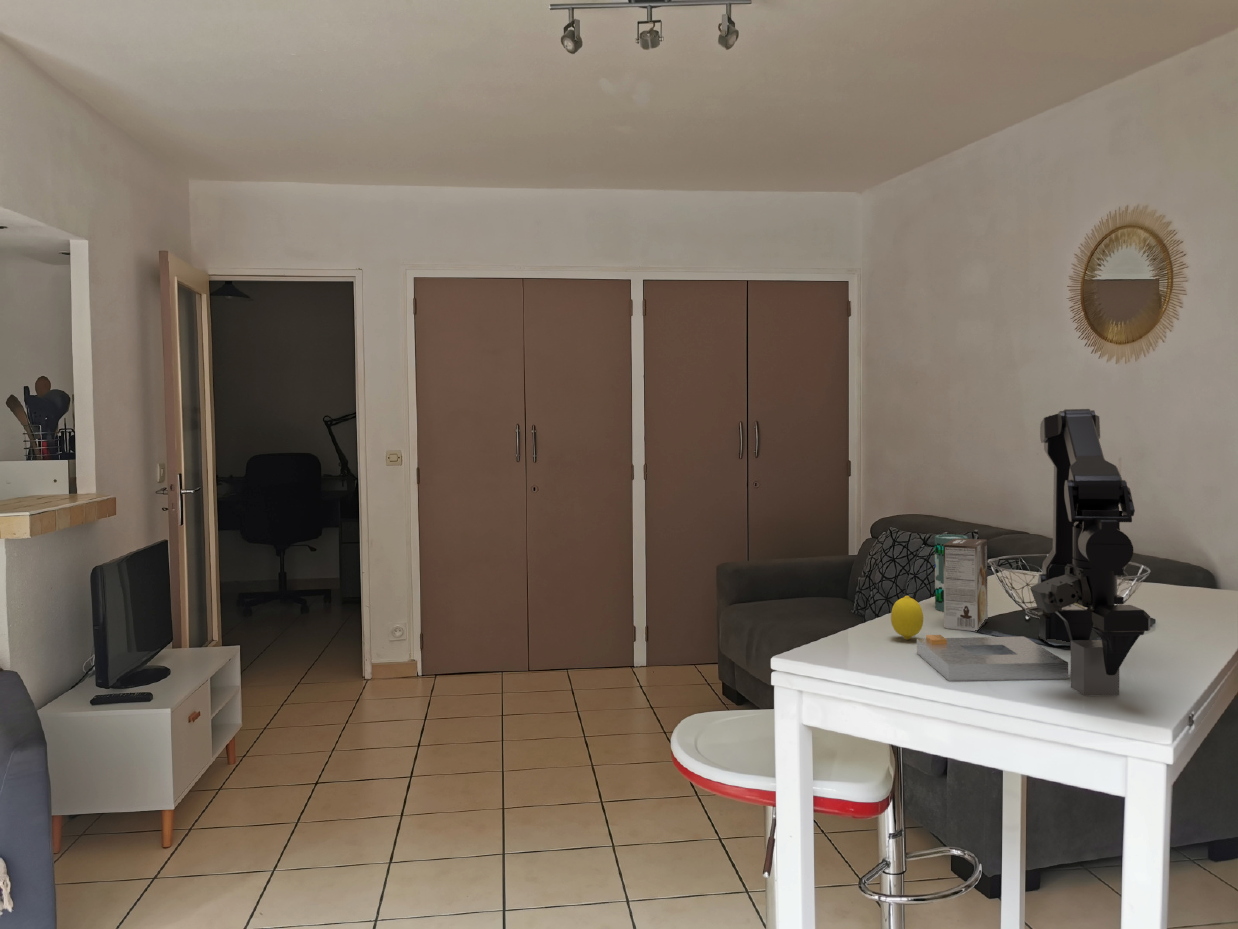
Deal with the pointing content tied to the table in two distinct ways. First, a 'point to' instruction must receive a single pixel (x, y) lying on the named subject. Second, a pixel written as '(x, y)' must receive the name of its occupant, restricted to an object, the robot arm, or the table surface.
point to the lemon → (907, 617)
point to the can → (941, 568)
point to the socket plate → (990, 658)
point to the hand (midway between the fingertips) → (1094, 665)
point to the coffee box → (965, 584)
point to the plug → (1091, 669)
